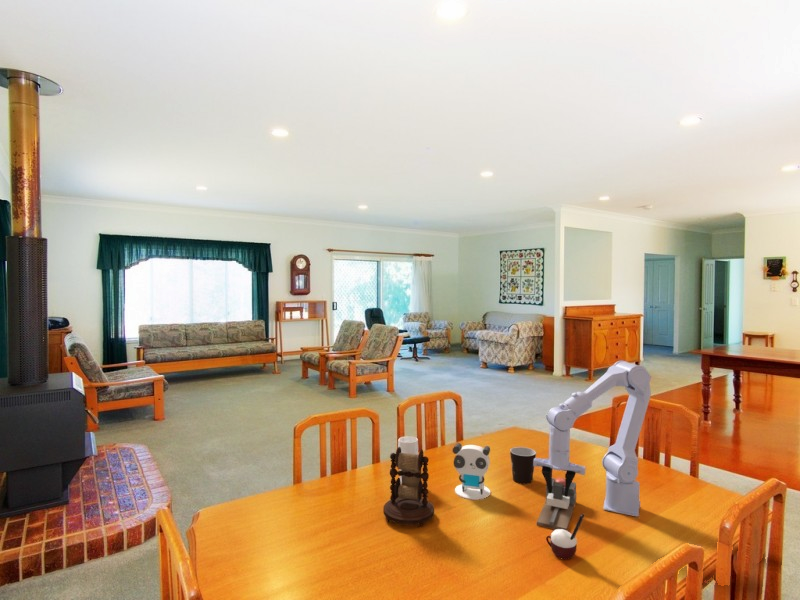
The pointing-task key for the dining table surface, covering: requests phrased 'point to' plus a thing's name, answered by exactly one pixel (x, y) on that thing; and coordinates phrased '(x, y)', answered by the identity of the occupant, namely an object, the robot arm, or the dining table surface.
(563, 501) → the carriage
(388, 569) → the dining table surface
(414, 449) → the drinking glass
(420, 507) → the dark brown wooden stand
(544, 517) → the rail board
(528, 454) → the coffee mug
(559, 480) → the button
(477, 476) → the panda figurine
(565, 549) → the cocoa
